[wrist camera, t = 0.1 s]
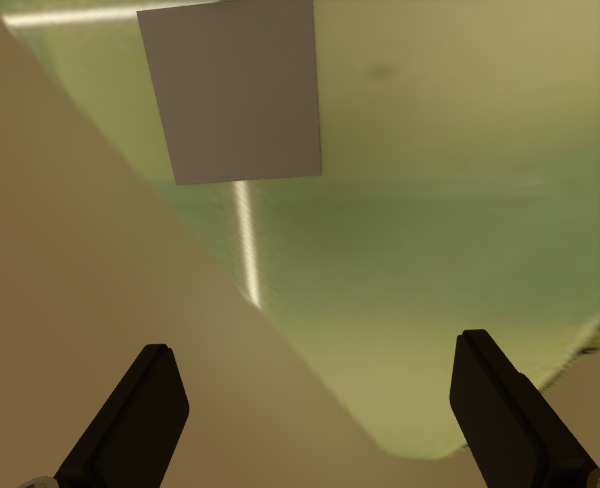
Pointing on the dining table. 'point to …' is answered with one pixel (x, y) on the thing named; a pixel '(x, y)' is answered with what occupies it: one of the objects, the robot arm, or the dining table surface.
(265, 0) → the rubber mat
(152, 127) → the dining table surface
